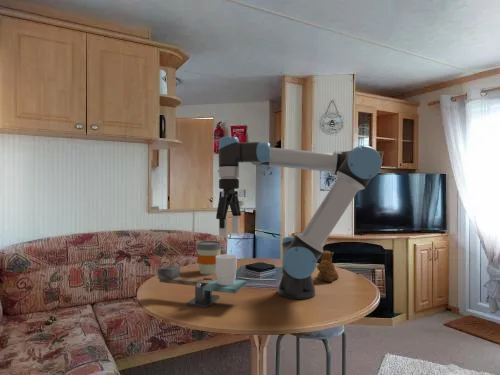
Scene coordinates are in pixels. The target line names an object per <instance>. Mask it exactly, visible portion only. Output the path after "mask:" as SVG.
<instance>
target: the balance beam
mask: <svg viewBox="0 0 500 375" xmlns="http://www.w3.org/2000/svg"><path fill="white" fill-rule="evenodd" d="M180 267H181V266H179V265H178V266H177V265H167V264H166V265H164V266H162V267H159V268H157V279H158V281H159V283H165V284H174V285H183V286H192V287H193V286H194V287H195V283H196V282H204V283H205V286H204V290H206V291H212V292H216V293H217V292H219V293H227V294H236V293H238V292H240V291H241V290H242V289H243V288H244V287H246V286H247V285H248V284H247V283H248V280H243V279H242V280H241V279H235V284H234V285H229V286H223V285H218V284H217V278H215V279H212V280H203V279H201V278H192V277H191V278H189V277H181V274H180V273H181V268H180Z"/></svg>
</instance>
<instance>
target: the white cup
mask: <svg viewBox="0 0 500 375" xmlns="http://www.w3.org/2000/svg"><path fill="white" fill-rule="evenodd" d="M237 264H238V256H237V255H236V254H232V253H231V254H228V253H226V254H224V253H221V255H217V256H216V274H215V275H216V279H217V284H218V285H223V286H229V285H234V284H235V280H236V276H237V268H238V267H237V266H238V265H237Z"/></svg>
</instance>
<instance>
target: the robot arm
mask: <svg viewBox="0 0 500 375" xmlns="http://www.w3.org/2000/svg"><path fill="white" fill-rule="evenodd" d="M382 162H383V161H382V156H381V155H380V153H379V151H378V150H377V149H376V148H373V147H372V146H369V145H359V146H355V147H354V148H353V149H351V150H347V151H346V150H345V151H339V150H338V151H337V150H335V151H334V152H323V151H313V150H303V149H301V150H299V149H290V148H282V147H281V148H279V147H271V144H270V142H269V141H268V142H267V141H253V142H252V141H249V142H248V141H247V142H241V141H240V140H239V138H238V137H237V136H223V137H220V138H219V140H218V170H217V173H218V177H219V179H218V189H221V190H222V191H219V193H218V194H219V198H218V204H217V210H216V217H215V218H216V219H217V220H218V237H219V238H226V239H227V238H228V219H227V213H228V212H229V211H228V210H229V208H230V211H231V234H232V233H233V234H234V233H237V234H239V232H240V230H239V229H240V225H239V224H240V220H239V219H240V218H239V217H240V216H242V213H241V207H240V202H239V192H238V190H235V189H239V188H240V180H239V179H238V178H239V177H240V166H239V163H250V164H252V165H253V166H267V167H269V166H270V167H280V168H290V169H297V170H309V171H316V172H327V173H328V172H329V173H331V175H333V176H336V177H337V178H336V180H335V181H334V182H333V185H332V187H331V188H330V189H329V191H328V192H327V194H326V196H325V197H324V198H323V200H322V202H321V203H320V204H319V205H318V208H317V209H316V211H315V213H314V214H313V216H311V218H310V220H309V221H308V224H307V225H306V226H305V228H304V229H303V231H302V232H300V233H296V234H295V236H294V237H293V236H290V237H289V236H285V237H283V239H282V243H281V246H282V248H281V249H282V252H281V253H282V255H281V256H282V257H281V259H282V260H281V262H282V264H281V265H282V268H281V270H282V273H281V274H282V275H281V277H280V280H279V283H278V287H277V294H278V296H280V297H283V298H287V299H292V300H293V299H295V300H304V299H311V298H313V297H315V296H316V287H315V284H314V280H313V278H312V274H314V272H315V271H316V269H317V265H318V264H317V263H318V261H319V259H321V257H322V256H321V255H322V253H323V252H324V248H323V245H324V244H325V243H326V241H327V239H328V237H329V236H330V234H331V233H332V231H333V230H334V229H335V227H336V225H337V224H338V222H339V221H340V219H341V218H342V216H343V215H344V213H345V212H346V210H347V209H348V207H349V205H350V204H351V202H352V201H353V200H354V198H355V197H356V195H357V193H358V192H359V191H361V190H366V187H367V186H368V184H369V183H370V182H371V180H372V178H374V177H375V176H376V175H378V174H379V172H380V171H381V169H382V165H383V163H382Z"/></svg>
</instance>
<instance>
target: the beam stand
mask: <svg viewBox="0 0 500 375" xmlns="http://www.w3.org/2000/svg"><path fill="white" fill-rule="evenodd" d="M203 280H213V278H212V277H210V276H208V277H203ZM204 286H205V283H204V282H196V283H195V286H194V291H195V293H194V294H195V295H194V297H193V298H192V299H190V300H188V301H187V302H186V306H189V307H197V308H203V309H206V308H208V307H210V306H211V305H213V304H214V303H215V302H217V301H218V300H220V299H221V295H218V294H213V291H206V290H204Z"/></svg>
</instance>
